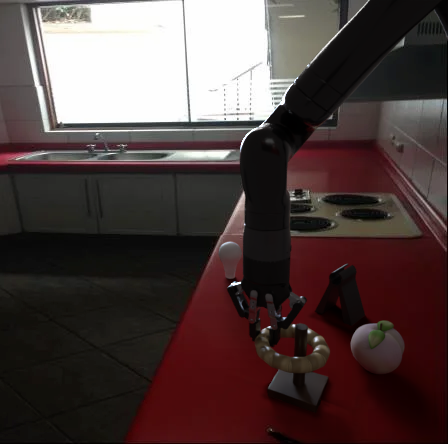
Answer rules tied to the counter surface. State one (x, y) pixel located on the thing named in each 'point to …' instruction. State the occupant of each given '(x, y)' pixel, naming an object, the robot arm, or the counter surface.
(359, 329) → the decorative fruit
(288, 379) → the post
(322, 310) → the phone stand
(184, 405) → the counter surface
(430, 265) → the counter surface
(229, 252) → the lightbulb
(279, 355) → the beige segmented ring
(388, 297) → the counter surface
